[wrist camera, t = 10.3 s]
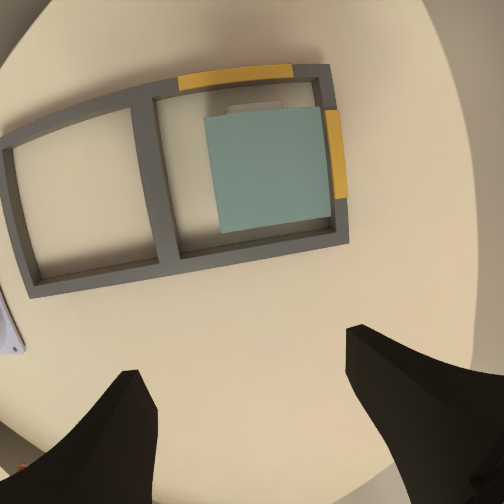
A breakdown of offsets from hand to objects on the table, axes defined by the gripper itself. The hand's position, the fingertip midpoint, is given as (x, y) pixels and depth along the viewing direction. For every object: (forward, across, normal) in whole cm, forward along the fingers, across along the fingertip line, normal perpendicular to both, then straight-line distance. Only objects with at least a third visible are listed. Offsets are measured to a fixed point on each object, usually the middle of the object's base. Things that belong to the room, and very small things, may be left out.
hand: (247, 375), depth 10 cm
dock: (+9, +3, -6) cm, 12 cm away
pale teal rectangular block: (+9, -2, -6) cm, 12 cm away
